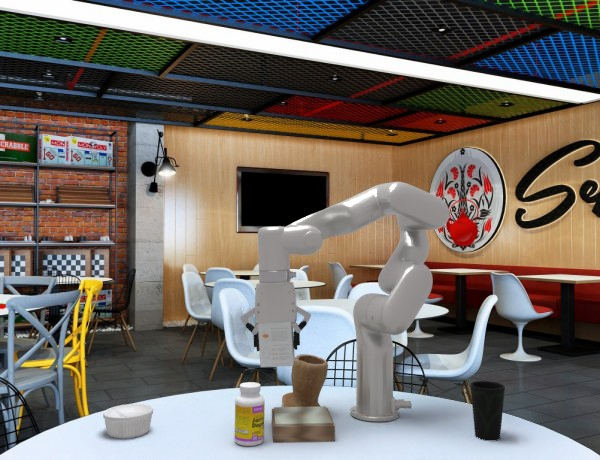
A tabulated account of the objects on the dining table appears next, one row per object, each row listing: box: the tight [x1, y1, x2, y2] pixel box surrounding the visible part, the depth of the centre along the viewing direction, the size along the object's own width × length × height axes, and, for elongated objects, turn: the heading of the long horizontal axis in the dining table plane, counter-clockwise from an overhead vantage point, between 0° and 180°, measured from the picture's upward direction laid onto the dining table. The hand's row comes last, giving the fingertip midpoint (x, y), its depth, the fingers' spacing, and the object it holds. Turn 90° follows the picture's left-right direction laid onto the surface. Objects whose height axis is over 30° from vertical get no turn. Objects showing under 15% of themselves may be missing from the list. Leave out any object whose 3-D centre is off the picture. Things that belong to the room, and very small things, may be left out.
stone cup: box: [281, 353, 329, 407], centre depth 153 cm, size 15×12×15 cm
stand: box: [271, 405, 336, 443], centre depth 137 cm, size 14×14×4 cm
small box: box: [258, 322, 296, 368], centre depth 139 cm, size 8×6×10 cm
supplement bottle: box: [234, 381, 266, 447], centre depth 130 cm, size 7×7×13 cm
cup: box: [469, 380, 506, 441], centre depth 134 cm, size 8×8×12 cm
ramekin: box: [102, 403, 154, 440], centre depth 136 cm, size 11×11×5 cm
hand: (277, 349), depth 138 cm, fingers closed on small box, 8 cm apart
